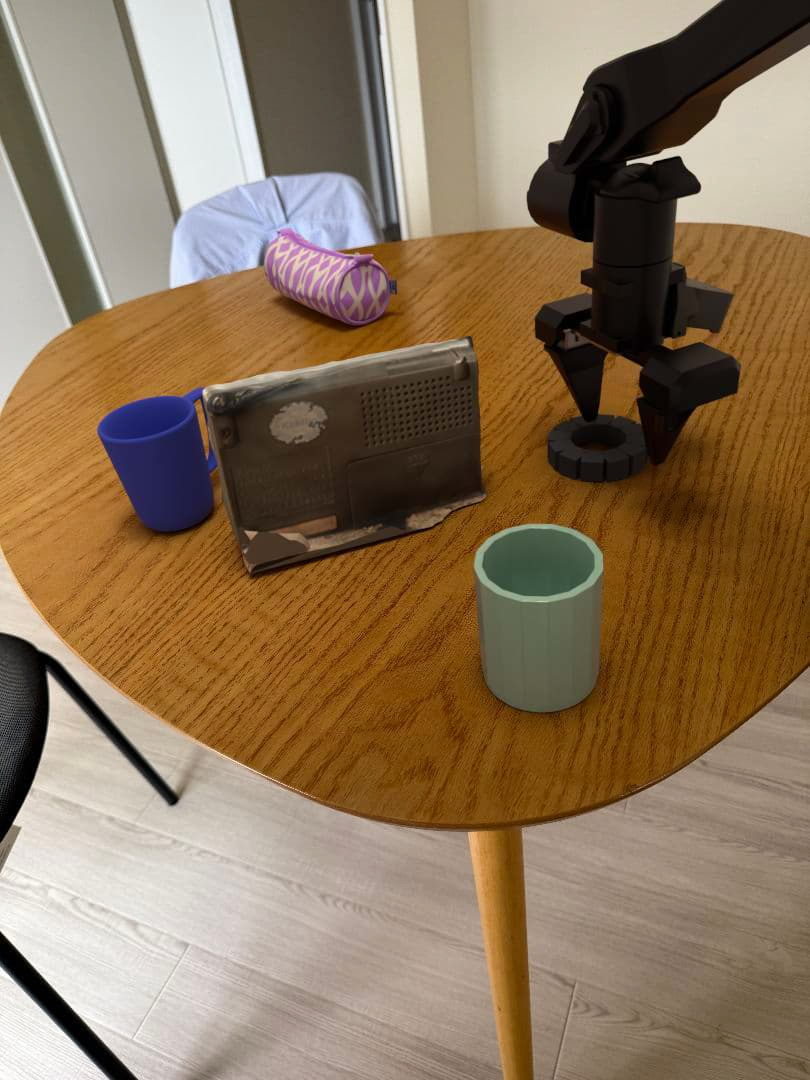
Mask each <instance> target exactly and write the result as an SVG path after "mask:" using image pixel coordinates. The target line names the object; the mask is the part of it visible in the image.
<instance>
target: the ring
mask: <svg viewBox="0 0 810 1080" xmlns="http://www.w3.org/2000/svg"><path fill="white" fill-rule="evenodd" d="M546 441H547V444H546V445H547V446H546V447H547V448H546V449H547V450H546V451H547V452H546V453H547V462H548V463H549V465H551V467H552V469H553V470H554V471H555V472H557V471H558V473H559V474H560V475H563V476H565V477H567V478H570V479H573V480H574V481H575V480H577V479H579V480H580V481H581V482H590V483H591V482H593V483H603V482H604V479H605V481H606V482H609V483H610V482H614V481H619V480H623V479H627V478H629V476H632V477H633V476H635V475H636V474H637V473H639V472H640V471H642V470H643V469H644V468H646V465H648V461H649V456H648V453H647V449H646V444H645V439H644V435H643V430H642V425H641V422H640V423H639V422H637V420H634V419H631V418H628V417H626V416H625V417H624V416H622V415H618V416H616V417H615V415H614V414H600V413H598V416H597V419H596V420H595V421H592V422H589V423H588V422H586V421H585V420H584V419H583V417H582V415H578V416H574V417H570V418H569V420H567V419H565V420H563V421H561V422H559V423H558V424H556V425H555V426H553V428H552V429H550V431H549V434H548V436H547V440H546ZM594 443H595V444H596V443H597V444H609V445H611V446H614V447H615V448H612V449H607V450H606V449H605V450H589V449H588V450H587V449H585V448H582V447H581V446H584V445H589V444H594Z"/></svg>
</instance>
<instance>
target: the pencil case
mask: <svg viewBox="0 0 810 1080" xmlns="http://www.w3.org/2000/svg"><path fill="white" fill-rule="evenodd" d="M276 233H277V235H280V236H278V237H276V238H274V239H272V240H271V241H270V242H269V244H268V245H267V248H266V249H265V254H264V261H263V270H264V274H265V277H266V280H267V282H268V283H269V286H270V287H271V288H273V290H275V291H276V292H277V293H279V294H281V295H282V296H284V297H287V298H289V299H292V300H293V301H295V302H297V303H299V304H301V305H303V306H305V307H308V308H309V309H312V310H313V311H316V312H318V313H321V314H323V315H324V316H327V317H329V318H332V319H335V320H338V321H340V322H343V323H345V324H348V325H352V326H365V325H367V324H369V323H372V322H374V321H376V320H377V319H378V318H380V317H381V316H382V315H383V314H384V313H385V311H386V309H387V308H388V305H389V303H390V300H391V299H390V298H391V295H395V296H397V295H398V280H397V279H393V278H392V279H391V278H390V276H389V274H388V272H387V271H386V269H385V268H384V267H383V266H382V264H380V263H379V262H378V261H376V260H374V254H373V253H371V254H370V253H369V254H361V253H360V252H355V253H354V254H353V253H351V254H349V253H343V252H340V251H337V250H329V249H327V248H325V247H323V246H321V245H316V244H314V243H312V242H311V241H310V240H309V239H307V238H305V237H304V236H302V235H301V234H299V233H297V232H295V231H294V230H293V229H292V228H291V227H287V228H283V229H280V230H277V231H276Z"/></svg>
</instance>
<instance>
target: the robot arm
mask: <svg viewBox="0 0 810 1080" xmlns="http://www.w3.org/2000/svg"><path fill="white" fill-rule="evenodd" d="M808 46H810V0H720V1H719V2H717V3H716V4H715V5H713V6H712V7H711V8H710V9H708V10H707V11H706V12H704V13H703V14H702V15H700V16H699V17H697V19H695V20H694V21H693V22H691V23H690V24H688V26H686V27H685V28H683V29H682V30H681V31H680V32H678V33H677V34H676V35H674V36H671V37H669V38H667V39H665V40H663V41H659V42H657V43H654V44H651V45H648V46H644V47H642V48H639V49H637V50H632V51H630V52H628V53H625V54H623V55H621V56H618V57H615V58H614V59H611V60H609V61H607V62H605V63H603V64H601V65H598V66H597V67H595V68H594V69H592V70H591V72H590V73H589V75H588V76H587V78H586V79H585V81H584V84H583V86H582V92H583V93H582V94H581V96H580V98H579V100H578V102H577V105H576V108H575V110H574V112H573V115H572V118H571V120H570V122H569V124H568V127H567V130H566V131H565V135H564V136H563V139H559V140H553V141H549V142H548V144H547V159H545V161H543V162H542V164H540V165H539V167H538V168H537V169H536V171H535V172H534V173H533V176H532V178H531V181H530V183H529V188H528V190H527V192H526V206H527V207H526V208H527V211H528V214H529V215H530V217H531V219H532V221H533V222H534V223H535V224H536V225H538V226H539V227H540V228H544V229H545V230H548V231H551V232H555V233H557V234H560V235H563V236H565V237H569V238H571V239H574V240H577V241H580V242H582V243H589V244H591V243H592V266H591V267H588V268H585V269H581V270H580V285H583V286H585V287H588V288H590V289H591V293H588V292H586V291H585V292H582V293H579V294H576V295H572V296H568V297H565V298H561V299H558V300H555V301H551V302H547V303H544V304H543V305H542V306H541V308H540V309H539V310H538V312H536V315H535V316H534V338H535V339H537V340H538V341H541V342H543V350H544V351H545V352H546V353H547V354H548V355H549V357H550V359H551V360H552V362H553V365H554V366H555V367H556V370H557V371H558V373H559V375H560V376H561V378H562V380H563V383H565V385H566V387H567V389H568V391H569V393H570V396H571V397H572V399H573V401H574V403H575V405H576V407H577V409H578V411H579V412H580V416H582V417H583V419H584V420H585V421H586V422H588V423H589V422H592V421H595V420H596V419H597V416H598V414H599V411H600V405H601V396H602V387H603V378H604V377H603V376H604V369H605V361H606V358H607V357H608V355H609V354H610V355H613V356H614V357H622V358H624V359H626V360H628V361H630V362H632V363H634V364H635V365H638V366H639V367H642V368H641V369H640V371H639V374H638V377H639V378H638V387H639V389H640V392H641V394H642V396H640V397H637V398H636V406H637V409H638V411H637V412H638V416H639V421H640V424H641V425H642V430H643V435H644V439H645V444H646V449H647V453H648V461H649V463H650V465H652V466H653V467H657V466H660V465H662V464H664V463H665V462H666V460H667V458H668V456H669V455H670V453H671V451H672V450H673V447H674V446H675V443H676V442H677V440H678V438H679V436H680V434H681V432H682V430H683V429H684V427H685V425H686V423H687V422H688V421H689V419H690V418H691V416H692V415H693V413H694V412H695V410H697V408H698V407H701V406H704V405H707V404H709V403H712V402H715V401H718V400H720V399H724V398H727V397H730V396H733V395H736V394H738V390H739V385H740V384H739V383H740V378H741V377H740V376H741V370H742V369H741V368H742V364H741V362H739V360H737V359H736V358H735V357H734V356H733V355H731V354H729V353H727V352H725V351H723V350H720V349H717V348H715V347H713V346H711V345H708V344H707V343H704V342H702V341H697V342H694V343H691V344H688V345H684V346H682V347H678V348H675V349H671V348H669V347H667V346H665V345H663V344H664V343H665V340H666V339H668V338H670V339H672V340H675V339H679V338H682V337H685V336H687V328H690V329H698V330H707V331H708V332H709V333H711V334H720V332H721V329H722V327H723V324H724V322H725V320H726V317H727V314H728V312H729V309H730V307H731V304H732V301H733V299H734V297H735V293H734V292H731V291H729V290H726V289H723V288H720V287H718V286H715V285H711V284H709V283H706V282H703V281H700V280H695V279H693V278H689V277H688V274H687V269H686V268H687V267H686V266H685V264H682V263H678V262H676V261H674V247H675V236H676V235H675V234H676V222H677V211H678V199H683V198H686V197H690V196H694V195H698V194H699V193H701V190H702V184H701V182H700V181H699V179H698V177H697V176H696V175H695V174H694V173H693V172H692V171H691V170H689V168H688V167H686V165H685V163H684V161H683V158H682V156H681V155H674V156H670V157H666V158H661V159H658V160H654V161H653V162H652V163H647V162H646V163H645V162H634V163H630V164H628V162H630V161H631V162H632V161H635V160H639V159H643V158H648V157H653V156H656V155H659V154H661V153H662V152H663V151H664V150H668V149H672V148H677V147H680V146H684V145H685V144H686V143H688V142H689V141H691V139H693V138H694V137H695V136H696V135H697V134H698V133H699V132H701V131H702V130H703V129H704V128H705V127H706V126H708V125H709V124H710V123H711V122H712V121H713V120H714V119H715V118H716V117H717V115H718V113H719V111H720V109H721V106H722V104H723V102H724V101H725V99H727V98H728V97H729V96H730V95H731V94H732V93H733V92H734V91H736V90H737V89H739V88H740V87H742V86H743V85H745V84H747V83H749V82H751V81H752V80H754V79H755V78H757V77H758V76H760V75H762V74H764V73H765V72H767V71H769V70H770V69H772V68H773V67H776V66H777V65H778V64H780V63H782V62H784V61H785V60H787V59H789V58H790V57H791V56H793V55H795V54H797V53H798V52H800V51H801V50H804V49H805V48H806V47H808Z"/></svg>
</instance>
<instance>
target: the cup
mask: <svg viewBox="0 0 810 1080" xmlns="http://www.w3.org/2000/svg"><path fill="white" fill-rule="evenodd" d="M473 578H474V591H475V603H476V613H477V614H476V615H477V627H478V628H477V629H478V641H479V651H480V652H479V653H480V663H481V664H480V665H481V669H482V673H483V679H484V682H485V684H486V686H487V687H488V689H489V690H490V692H491V693H492V694H493V695H494V696H495V697H496V698H497V699H498V700H500V701H501V702H503V703H505V704H507V705H508V706H511V707H512V708H515V709H518V710H521V711H525V712H531V713H554V712H559V711H563V710H567V709H569V708H571V707H574V706H575V705H577V704H579V703H581V702H582V701H584V700H585V699H586V698H587V697H588V696H589V695H590V694H591V693H592V692H593V690H594V689H595V687H596V685H597V682H598V680H599V673H600V659H601V638H602V637H601V636H602V635H601V634H602V612H603V592H604V591H603V588H604V554H603V552H602V551H601V549H600V548H599V547H598V545H597V544H596V543H595V541H594V540H593V538H590V537H589V536H587V535H585V534H584V533H582V532H580V531H579V530H576V529H575V528H570V527H566V526H562V525H559V524H555V523H526V524H521V525H516V526H512V527H507V528H505V529H503V530H501V531H499V532H497V533H495V534H493V535H491V536H489V537H487V539H486V540H485V541H484V542H483V543H482V544H481V545H480V546H479V547H478V549H477V550H476V552H475V555H474V561H473Z"/></svg>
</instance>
